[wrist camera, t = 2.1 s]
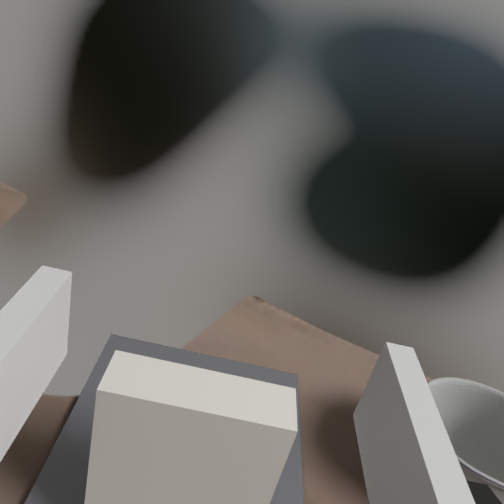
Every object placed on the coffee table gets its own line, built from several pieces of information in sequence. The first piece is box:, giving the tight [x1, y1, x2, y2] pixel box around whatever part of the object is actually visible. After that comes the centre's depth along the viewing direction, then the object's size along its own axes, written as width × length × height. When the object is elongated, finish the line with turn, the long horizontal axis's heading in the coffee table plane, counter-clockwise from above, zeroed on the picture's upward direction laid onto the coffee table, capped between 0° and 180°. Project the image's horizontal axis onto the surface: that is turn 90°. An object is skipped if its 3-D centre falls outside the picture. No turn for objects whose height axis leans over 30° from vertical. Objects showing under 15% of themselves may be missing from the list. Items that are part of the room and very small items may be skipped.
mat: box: [24, 334, 304, 504], centre depth 35 cm, size 22×18×1 cm
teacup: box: [427, 377, 504, 504], centre depth 36 cm, size 14×11×8 cm
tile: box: [84, 350, 298, 504], centre depth 27 cm, size 3×10×12 cm, turn 87°
